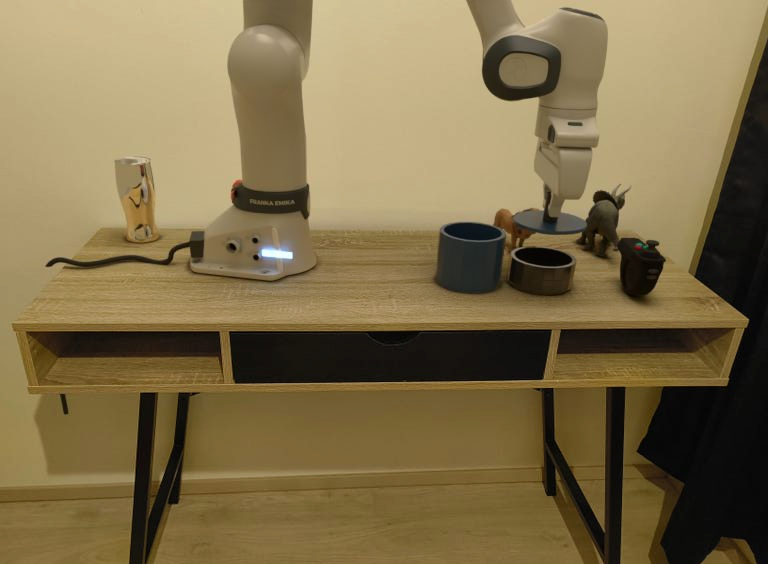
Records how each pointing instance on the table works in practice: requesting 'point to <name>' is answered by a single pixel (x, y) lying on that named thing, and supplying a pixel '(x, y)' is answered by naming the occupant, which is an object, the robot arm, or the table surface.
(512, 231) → the lion figurine
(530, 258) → the pan
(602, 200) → the toy dinosaur
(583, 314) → the table surface
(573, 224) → the lid
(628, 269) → the controller
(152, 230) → the beer glass
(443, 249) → the pot
